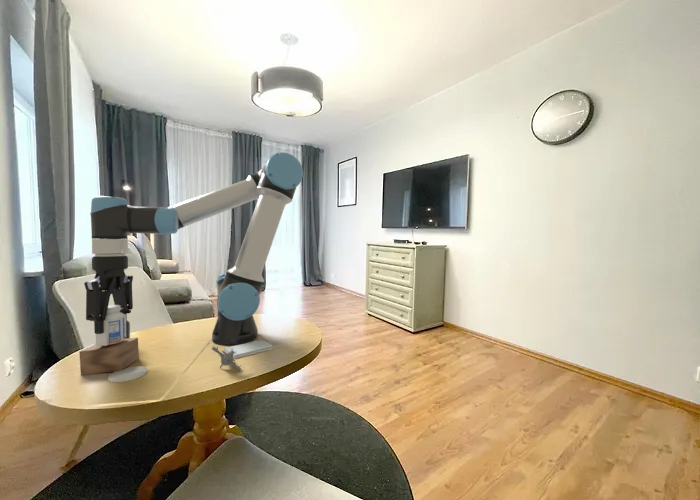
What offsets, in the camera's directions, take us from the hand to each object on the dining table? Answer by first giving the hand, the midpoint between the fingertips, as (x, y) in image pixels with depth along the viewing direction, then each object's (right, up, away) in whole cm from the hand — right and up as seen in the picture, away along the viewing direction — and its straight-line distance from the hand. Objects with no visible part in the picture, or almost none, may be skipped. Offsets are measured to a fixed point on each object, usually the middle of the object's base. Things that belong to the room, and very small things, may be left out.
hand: (111, 340), depth 80 cm
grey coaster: (+8, -8, -5) cm, 12 cm away
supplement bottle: (-8, -7, +12) cm, 16 cm away
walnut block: (0, -7, 0) cm, 7 cm away
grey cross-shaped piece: (+31, -8, 0) cm, 32 cm away
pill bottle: (0, -1, 0) cm, 1 cm away
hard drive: (+32, -8, +14) cm, 36 cm away
